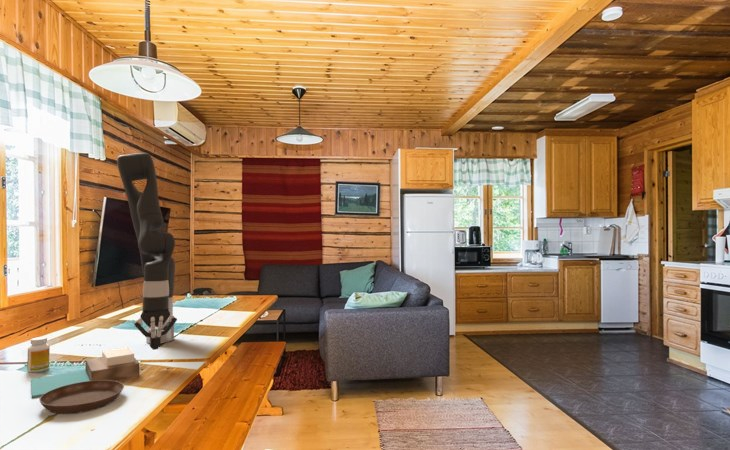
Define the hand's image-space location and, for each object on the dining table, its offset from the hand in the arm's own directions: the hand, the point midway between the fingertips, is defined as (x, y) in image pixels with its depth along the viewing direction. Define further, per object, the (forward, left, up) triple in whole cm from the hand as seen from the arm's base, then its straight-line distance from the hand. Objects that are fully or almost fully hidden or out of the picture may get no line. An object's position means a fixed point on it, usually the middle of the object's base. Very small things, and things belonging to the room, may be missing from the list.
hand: (154, 348), depth 134 cm
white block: (+10, 0, -2) cm, 10 cm away
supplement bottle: (+29, -19, -6) cm, 35 cm away
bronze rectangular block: (+12, 0, -6) cm, 13 cm away
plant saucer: (+21, +19, -6) cm, 29 cm away
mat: (+24, 0, -6) cm, 25 cm away
